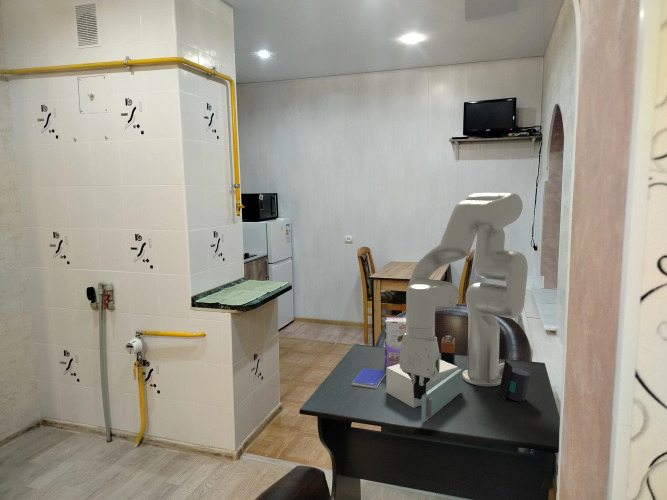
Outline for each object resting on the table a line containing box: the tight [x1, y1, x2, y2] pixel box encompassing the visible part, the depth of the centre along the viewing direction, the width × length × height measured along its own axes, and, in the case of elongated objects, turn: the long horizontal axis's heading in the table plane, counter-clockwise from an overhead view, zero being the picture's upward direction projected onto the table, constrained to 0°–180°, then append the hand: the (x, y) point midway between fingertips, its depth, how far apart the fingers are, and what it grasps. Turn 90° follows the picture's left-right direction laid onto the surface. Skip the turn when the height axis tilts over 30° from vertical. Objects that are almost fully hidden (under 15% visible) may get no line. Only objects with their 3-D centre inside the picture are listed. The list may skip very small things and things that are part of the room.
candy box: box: [384, 316, 406, 367], centre depth 159 cm, size 14×6×16 cm, turn 77°
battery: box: [440, 334, 456, 365], centre depth 159 cm, size 4×7×10 cm, turn 162°
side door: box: [421, 368, 463, 422], centre depth 127 cm, size 24×2×7 cm, turn 140°
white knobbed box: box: [385, 359, 459, 409], centre depth 137 cm, size 19×12×9 cm, turn 123°
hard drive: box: [351, 367, 386, 389], centre depth 148 cm, size 2×8×12 cm
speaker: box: [498, 359, 531, 403], centre depth 132 cm, size 8×6×10 cm
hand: (419, 397), depth 122 cm, fingers closed
